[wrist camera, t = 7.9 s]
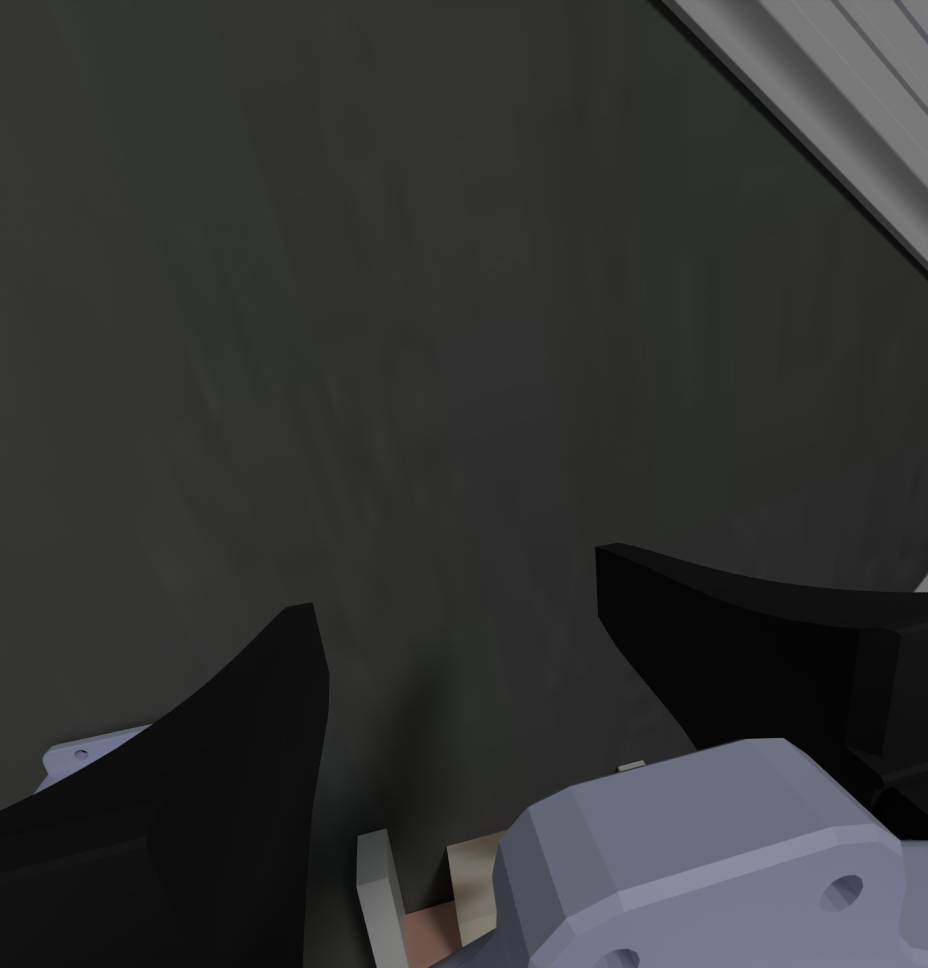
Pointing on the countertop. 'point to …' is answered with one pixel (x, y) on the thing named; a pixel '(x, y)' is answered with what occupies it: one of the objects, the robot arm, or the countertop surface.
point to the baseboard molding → (839, 90)
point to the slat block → (474, 885)
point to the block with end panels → (393, 935)
